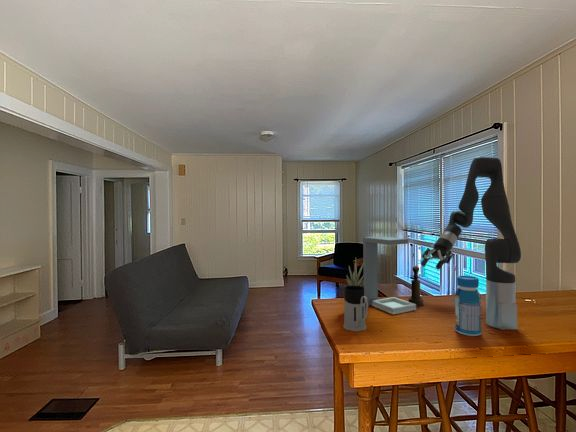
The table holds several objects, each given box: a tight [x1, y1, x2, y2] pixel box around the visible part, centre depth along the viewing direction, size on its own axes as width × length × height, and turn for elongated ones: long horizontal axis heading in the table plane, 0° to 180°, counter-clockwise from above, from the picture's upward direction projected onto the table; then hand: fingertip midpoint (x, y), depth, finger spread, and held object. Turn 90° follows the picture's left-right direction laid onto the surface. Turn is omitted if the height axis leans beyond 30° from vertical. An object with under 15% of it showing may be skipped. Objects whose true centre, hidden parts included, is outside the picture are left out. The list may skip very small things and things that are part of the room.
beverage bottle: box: [454, 275, 483, 337], centre depth 112 cm, size 8×8×20 cm
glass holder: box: [342, 285, 369, 332], centre depth 116 cm, size 9×14×15 cm, turn 15°
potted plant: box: [343, 258, 367, 303], centre depth 134 cm, size 10×10×25 cm
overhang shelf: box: [362, 235, 417, 315], centre depth 142 cm, size 16×17×32 cm
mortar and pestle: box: [408, 265, 425, 307], centre depth 147 cm, size 7×6×18 cm
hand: (429, 266), depth 151 cm, fingers open, 8 cm apart
